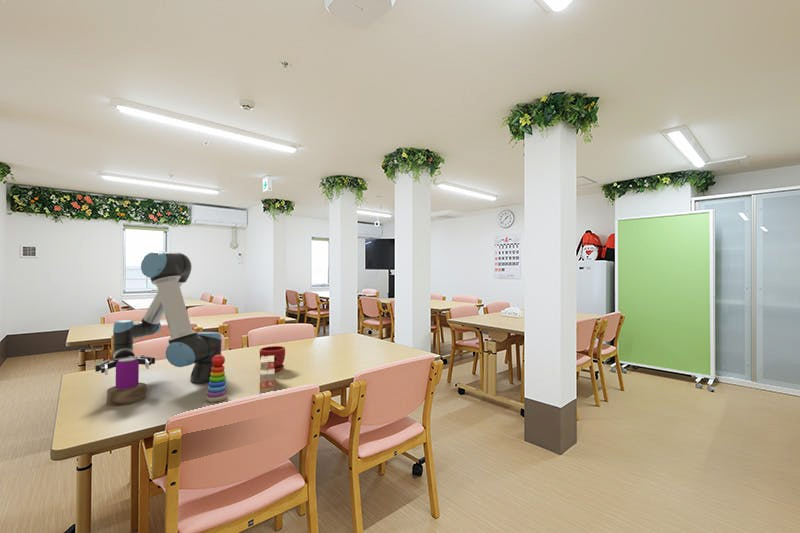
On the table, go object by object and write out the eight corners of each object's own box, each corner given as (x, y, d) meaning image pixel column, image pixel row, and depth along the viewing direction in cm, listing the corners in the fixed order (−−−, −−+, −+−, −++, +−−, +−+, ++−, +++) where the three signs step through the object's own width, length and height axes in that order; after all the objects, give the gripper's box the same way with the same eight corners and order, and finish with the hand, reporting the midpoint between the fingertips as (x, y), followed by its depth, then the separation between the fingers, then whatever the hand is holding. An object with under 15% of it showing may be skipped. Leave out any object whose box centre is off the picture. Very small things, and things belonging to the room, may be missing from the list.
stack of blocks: (274, 394, 158) (274, 366, 158) (259, 395, 156) (259, 367, 156) (273, 379, 178) (274, 354, 178) (260, 380, 176) (260, 355, 176)
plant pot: (289, 367, 199) (289, 345, 198) (277, 374, 186) (277, 351, 186) (267, 365, 201) (268, 344, 201) (254, 372, 188) (254, 350, 188)
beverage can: (121, 385, 152) (122, 356, 151) (142, 384, 153) (142, 356, 153) (111, 391, 144) (111, 361, 144) (132, 390, 146) (133, 361, 146)
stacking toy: (218, 403, 146) (219, 357, 146) (201, 401, 148) (202, 356, 148) (231, 396, 154) (231, 353, 154) (215, 395, 155) (215, 352, 155)
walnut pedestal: (153, 394, 155) (153, 383, 155) (128, 406, 142) (128, 393, 142) (125, 393, 156) (125, 381, 156) (98, 404, 143) (98, 392, 143)
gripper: (157, 361, 171) (163, 372, 155) (88, 371, 155) (87, 383, 138) (157, 345, 171) (163, 354, 155) (88, 353, 155) (87, 364, 138)
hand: (127, 368), depth 147 cm, fingers open, 13 cm apart
